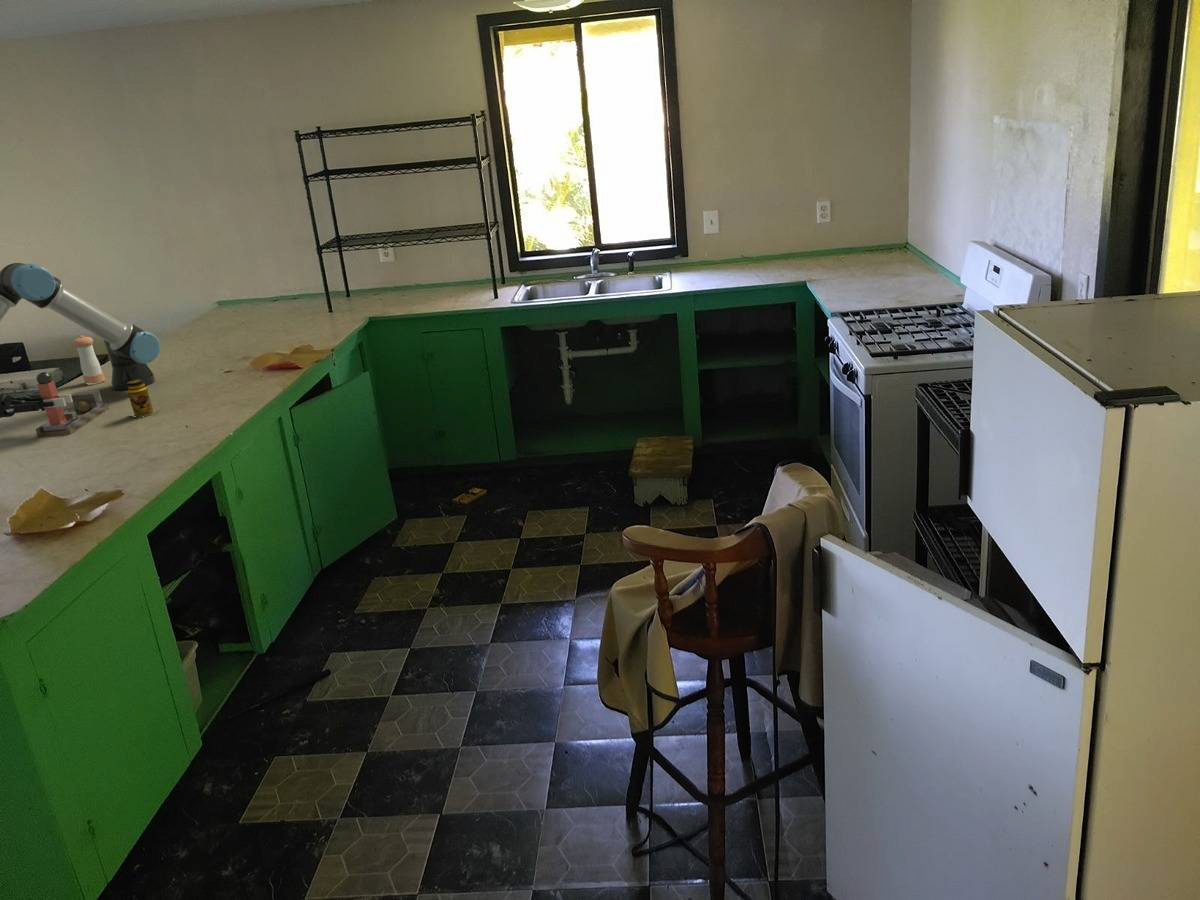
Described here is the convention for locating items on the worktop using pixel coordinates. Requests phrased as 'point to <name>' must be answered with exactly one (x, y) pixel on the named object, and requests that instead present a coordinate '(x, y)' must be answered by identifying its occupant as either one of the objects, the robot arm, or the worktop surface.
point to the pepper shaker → (88, 360)
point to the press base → (79, 412)
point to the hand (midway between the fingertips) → (67, 400)
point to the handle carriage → (55, 414)
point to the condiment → (139, 398)
